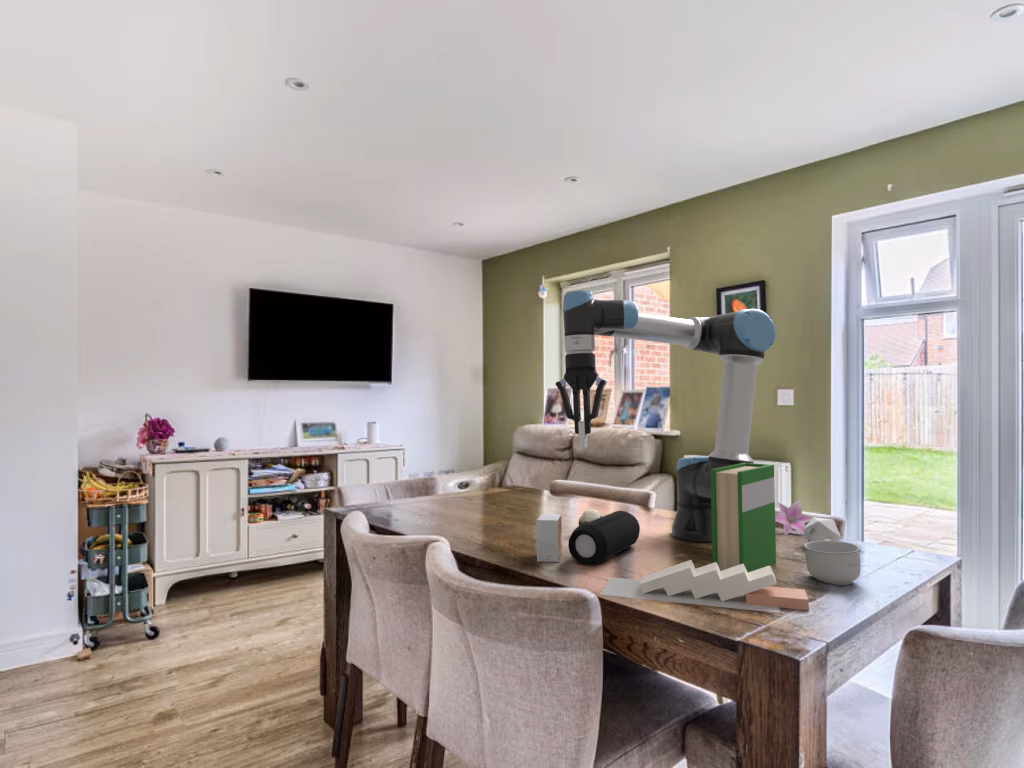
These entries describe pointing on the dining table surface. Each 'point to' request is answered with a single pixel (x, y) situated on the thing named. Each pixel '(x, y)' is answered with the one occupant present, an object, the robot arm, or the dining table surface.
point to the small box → (549, 537)
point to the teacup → (833, 561)
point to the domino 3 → (723, 581)
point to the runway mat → (677, 596)
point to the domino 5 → (779, 598)
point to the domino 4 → (750, 583)
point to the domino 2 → (696, 579)
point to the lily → (792, 517)
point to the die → (821, 530)
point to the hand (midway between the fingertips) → (583, 447)
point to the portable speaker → (603, 537)
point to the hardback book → (743, 516)
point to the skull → (589, 516)
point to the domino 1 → (667, 576)
